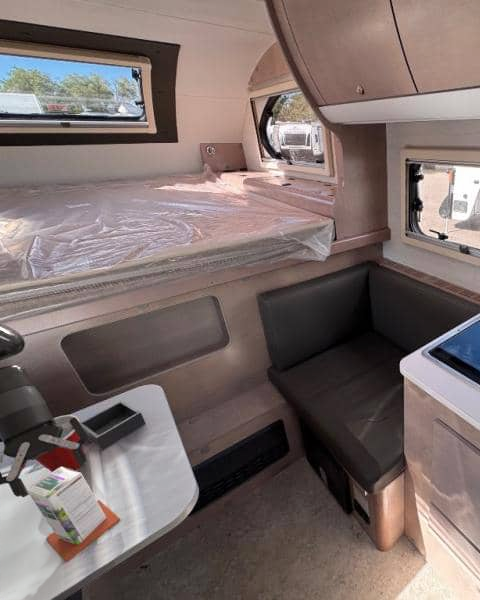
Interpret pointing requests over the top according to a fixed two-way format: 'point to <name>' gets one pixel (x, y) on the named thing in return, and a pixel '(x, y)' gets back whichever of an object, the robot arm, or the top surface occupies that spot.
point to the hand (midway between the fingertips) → (55, 480)
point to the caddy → (116, 431)
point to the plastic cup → (62, 449)
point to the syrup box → (67, 504)
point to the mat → (71, 550)
